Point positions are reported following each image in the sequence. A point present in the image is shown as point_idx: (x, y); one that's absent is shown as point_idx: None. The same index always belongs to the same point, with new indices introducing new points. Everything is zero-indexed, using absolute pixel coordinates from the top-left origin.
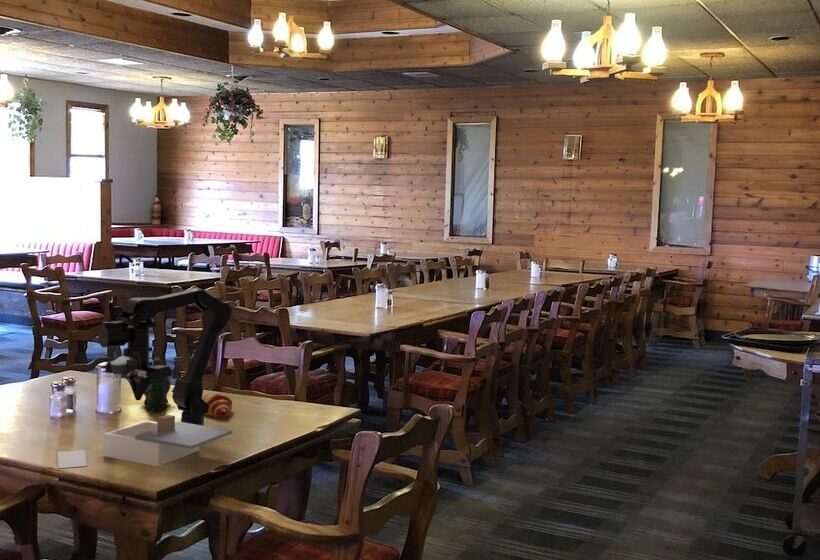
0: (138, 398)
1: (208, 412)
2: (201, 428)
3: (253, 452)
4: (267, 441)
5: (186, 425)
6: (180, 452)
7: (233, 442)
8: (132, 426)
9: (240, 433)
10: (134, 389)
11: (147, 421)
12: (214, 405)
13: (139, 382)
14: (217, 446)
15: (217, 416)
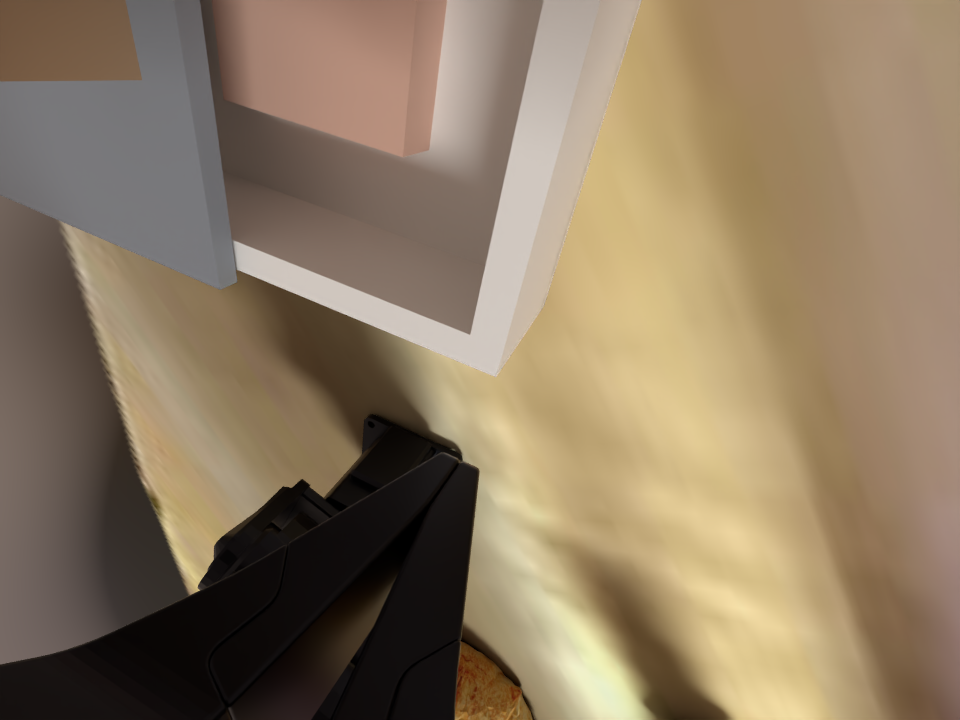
0: (423, 466)
1: (461, 654)
2: (8, 144)
3: None
4: (142, 364)
5: (112, 195)
6: None
7: (206, 341)
8: (509, 156)
9: (262, 449)
10: (397, 593)
11: (468, 345)
12: None
13: (76, 670)
14: None
15: None
